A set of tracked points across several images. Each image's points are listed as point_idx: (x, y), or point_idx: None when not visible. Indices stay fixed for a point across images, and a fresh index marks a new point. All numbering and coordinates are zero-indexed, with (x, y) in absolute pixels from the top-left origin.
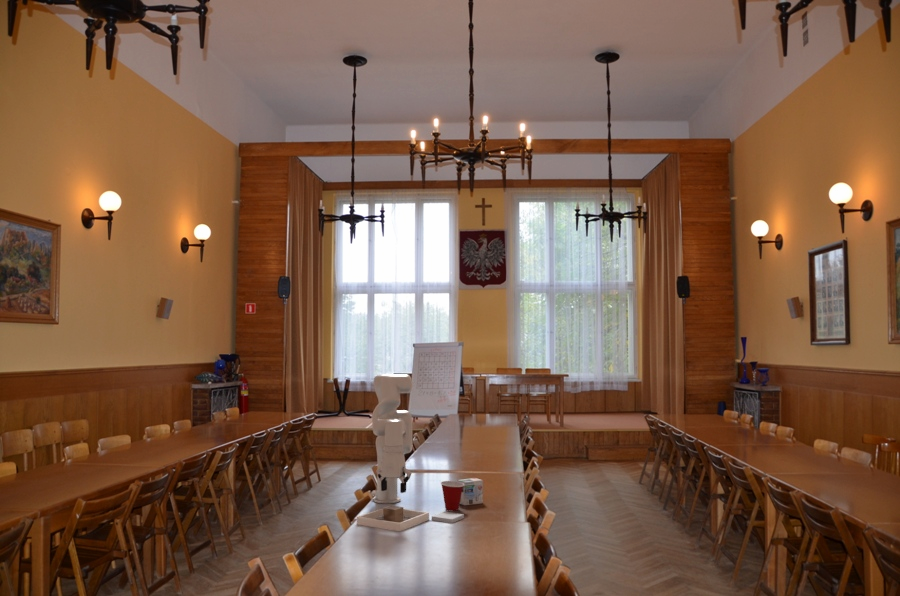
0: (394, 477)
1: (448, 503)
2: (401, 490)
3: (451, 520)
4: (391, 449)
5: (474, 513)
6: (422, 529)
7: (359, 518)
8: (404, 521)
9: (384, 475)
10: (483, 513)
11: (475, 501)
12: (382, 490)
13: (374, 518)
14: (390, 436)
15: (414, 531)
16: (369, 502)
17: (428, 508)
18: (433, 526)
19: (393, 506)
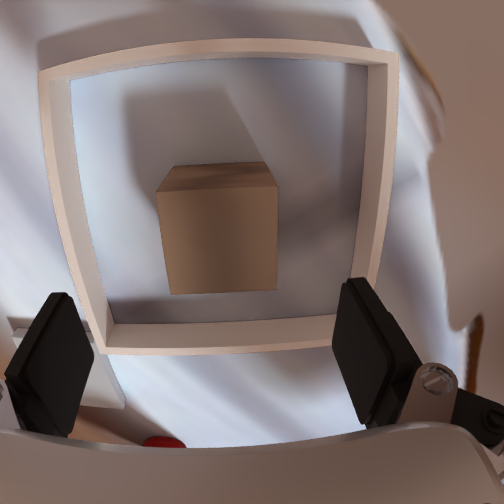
0: (38, 442)
1: None
2: (42, 306)
3: (15, 333)
4: None
5: (82, 433)
6: (7, 177)
7: (375, 50)
8: (44, 125)
9: (374, 463)
10: (68, 437)
11: None
12: (350, 283)
13: (360, 208)
14: None
15: (9, 123)
16: (462, 379)
17: (244, 434)
18: (14, 250)
19: (246, 275)
